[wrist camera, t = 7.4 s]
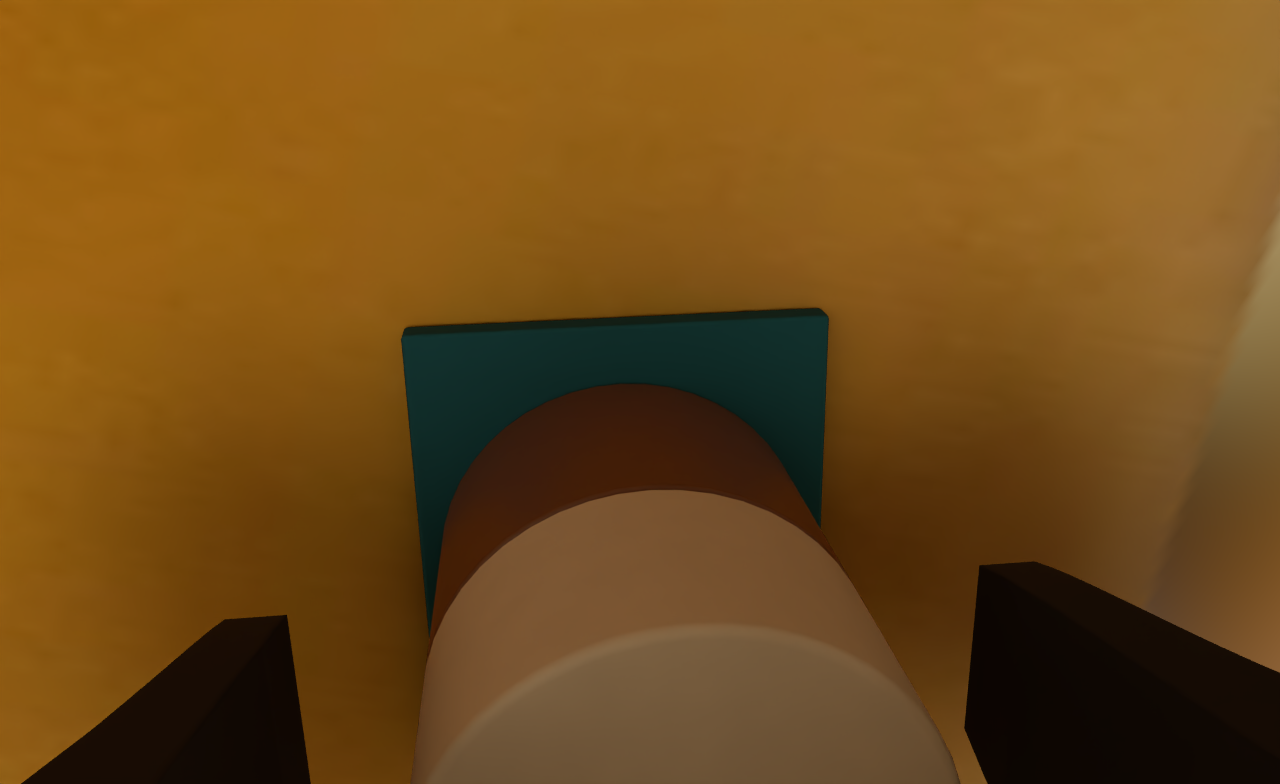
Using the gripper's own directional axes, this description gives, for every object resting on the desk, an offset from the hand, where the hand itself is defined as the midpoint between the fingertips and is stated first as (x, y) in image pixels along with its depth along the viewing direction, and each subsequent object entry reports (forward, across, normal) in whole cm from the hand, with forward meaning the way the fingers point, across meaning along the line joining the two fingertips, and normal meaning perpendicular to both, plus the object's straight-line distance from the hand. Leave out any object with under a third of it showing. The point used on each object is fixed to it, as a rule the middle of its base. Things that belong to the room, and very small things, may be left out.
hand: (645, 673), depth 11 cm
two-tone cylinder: (+2, 0, 0) cm, 3 cm away
